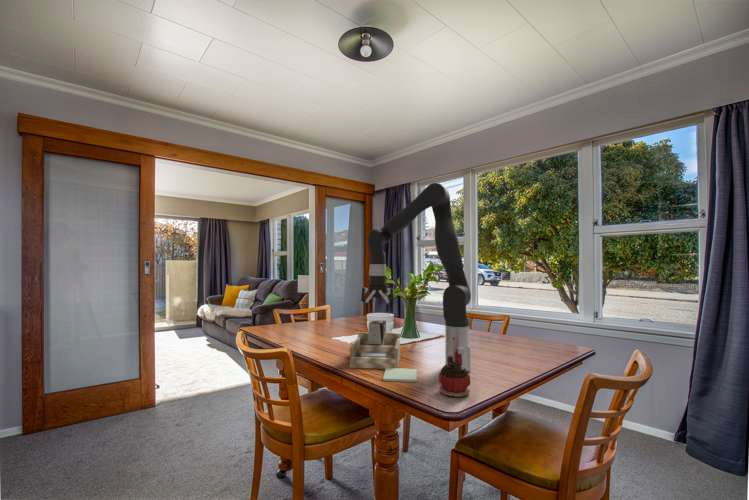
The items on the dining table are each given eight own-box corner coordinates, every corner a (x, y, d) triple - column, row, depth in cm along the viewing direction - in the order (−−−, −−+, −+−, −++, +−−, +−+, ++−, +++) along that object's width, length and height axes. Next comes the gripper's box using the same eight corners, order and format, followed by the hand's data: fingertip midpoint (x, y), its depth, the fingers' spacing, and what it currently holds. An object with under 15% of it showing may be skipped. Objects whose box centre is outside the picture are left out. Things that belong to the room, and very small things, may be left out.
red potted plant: (435, 387, 120) (435, 333, 121) (463, 386, 121) (462, 333, 121) (444, 399, 110) (444, 340, 110) (474, 398, 110) (473, 340, 111)
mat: (416, 370, 138) (416, 368, 138) (416, 382, 125) (416, 379, 126) (385, 369, 140) (385, 367, 140) (382, 380, 127) (382, 378, 127)
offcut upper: (386, 359, 148) (386, 353, 148) (385, 362, 144) (385, 356, 144) (362, 358, 149) (362, 352, 149) (360, 361, 145) (360, 355, 145)
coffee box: (382, 361, 151) (382, 323, 152) (368, 361, 152) (368, 323, 153) (386, 356, 160) (386, 320, 161) (372, 355, 161) (372, 319, 162)
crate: (400, 355, 162) (400, 333, 162) (397, 369, 141) (397, 343, 141) (358, 354, 164) (358, 332, 164) (349, 367, 143) (349, 342, 143)
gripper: (394, 274, 160) (394, 310, 160) (363, 274, 162) (362, 309, 162) (393, 275, 153) (393, 313, 152) (360, 274, 155) (360, 312, 154)
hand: (377, 311), depth 157 cm, fingers open, 8 cm apart
